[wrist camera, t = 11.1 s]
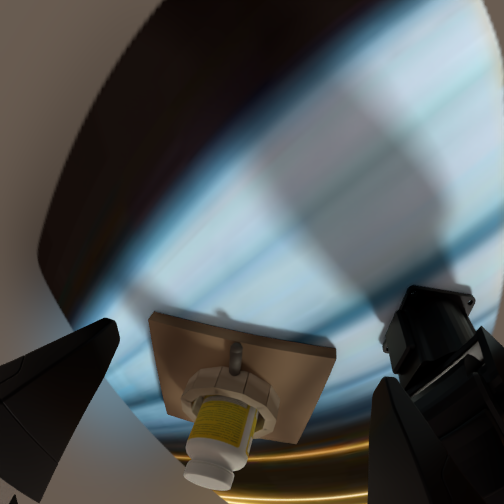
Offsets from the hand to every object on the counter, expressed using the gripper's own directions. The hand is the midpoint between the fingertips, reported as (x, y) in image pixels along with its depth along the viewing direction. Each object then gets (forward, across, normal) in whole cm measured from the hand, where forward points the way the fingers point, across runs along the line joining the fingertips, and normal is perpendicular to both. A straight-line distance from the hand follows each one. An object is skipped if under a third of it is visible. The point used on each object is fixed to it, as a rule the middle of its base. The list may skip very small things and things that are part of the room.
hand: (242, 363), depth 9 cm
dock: (+12, +2, +18) cm, 22 cm away
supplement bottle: (+11, +2, +18) cm, 21 cm away
